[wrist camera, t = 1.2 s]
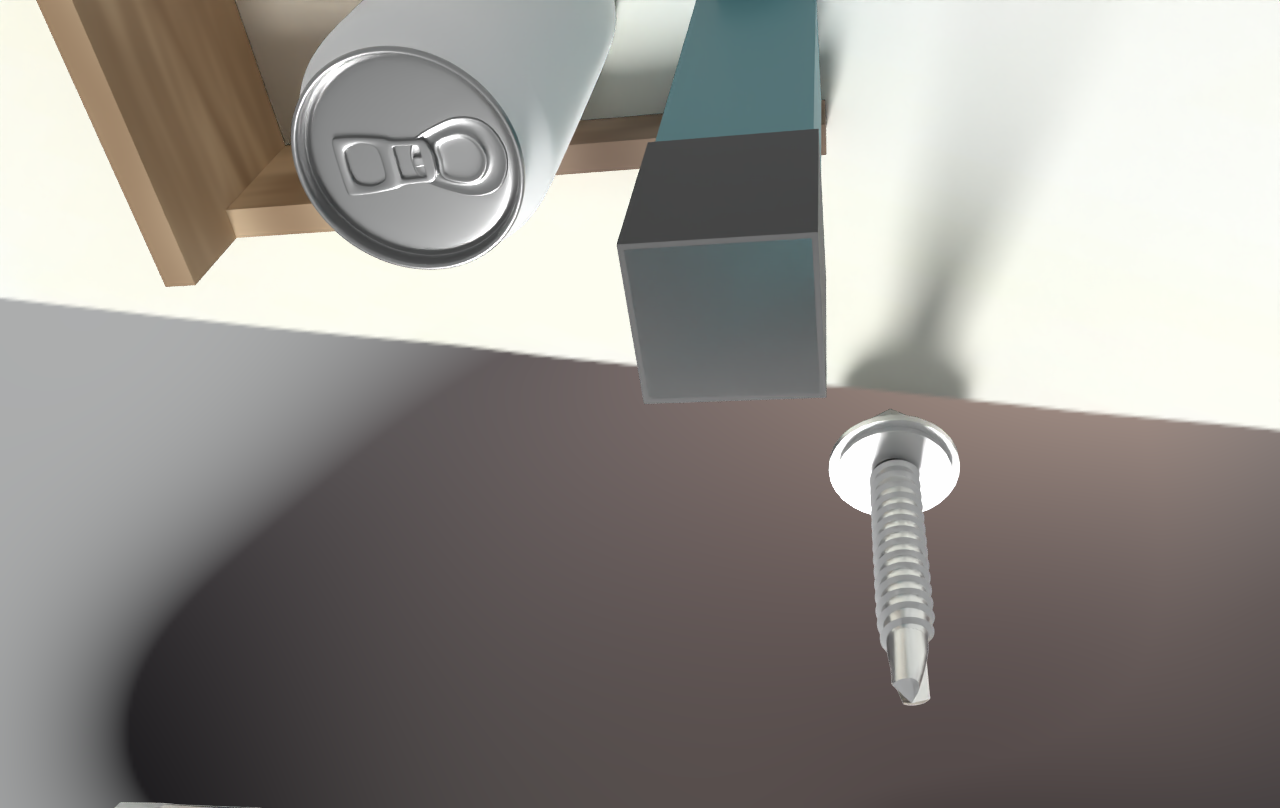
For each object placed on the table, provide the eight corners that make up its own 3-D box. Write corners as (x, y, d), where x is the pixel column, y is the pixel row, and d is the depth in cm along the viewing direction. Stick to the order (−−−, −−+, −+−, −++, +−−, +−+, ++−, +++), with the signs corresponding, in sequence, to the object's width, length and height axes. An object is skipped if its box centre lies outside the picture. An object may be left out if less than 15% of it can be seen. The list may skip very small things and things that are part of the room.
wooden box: (811, -213, 31) (808, -155, 24) (826, 128, 36) (826, 247, 30) (161, -123, 34) (12, -53, 28) (269, 173, 40) (165, 286, 34)
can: (631, 94, 37) (565, 279, 27) (446, 109, 38) (320, 291, 28) (601, -116, 33) (511, 13, 23) (396, -92, 34) (232, 41, 25)
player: (817, -139, 31) (812, 135, 16) (827, 81, 35) (829, 468, 20) (705, -125, 32) (600, 152, 17) (726, 90, 36) (656, 472, 21)
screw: (864, 368, 42) (978, 414, 43) (808, 456, 45) (915, 498, 45) (878, 629, 32) (1027, 684, 32) (803, 720, 35) (941, 770, 35)
